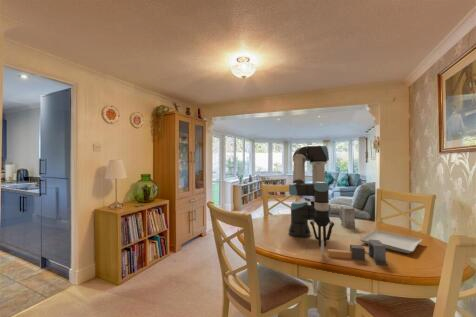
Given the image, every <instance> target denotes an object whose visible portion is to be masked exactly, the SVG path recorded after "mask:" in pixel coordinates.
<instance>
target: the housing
mask: <svg viewBox="0 0 476 317" xmlns="http://www.w3.org/2000/svg"><path fill="white" fill-rule="evenodd" d="M386 250H387V249H386V246H385V245H383V244H382V243H381V242H380V241H379V240H369V244H368V252H367V255H368V256H369V257H373V262H374V263H375V265H380V266H388V265H389V264H388V263H387V260H386V258H387V255H386Z"/></svg>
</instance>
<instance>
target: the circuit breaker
mask: <svg viewBox="0 0 476 317" xmlns="http://www.w3.org/2000/svg"><path fill="white" fill-rule="evenodd" d="M338 214H339V215H338V217H339V220H340V221H341V226H342V227H344V228H345V229H356V227H355V226H356V221H355V214H356V210H355V208H354V207H353V206H341V207H340V209H339V212H338Z"/></svg>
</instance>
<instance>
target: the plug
mask: <svg viewBox="0 0 476 317" xmlns="http://www.w3.org/2000/svg"><path fill="white" fill-rule="evenodd" d="M366 255H368V252H367V251H366V249H365V247H364V246H363V245H362V244H349V250H345V249H343V250H342V249H331V248H330V249H329V248H327V257H331V258H342V259H352V260H358V261H366Z"/></svg>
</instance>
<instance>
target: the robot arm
mask: <svg viewBox="0 0 476 317" xmlns="http://www.w3.org/2000/svg"><path fill="white" fill-rule="evenodd" d="M329 160H330V158H329V150H328V147H327V145H325V144H312V145H311V144H310V145H306V144H305V145H302V146H300V147H298V148H297V149H296V150H295V151H294V152H293V155H292V162H293V171H292V172H293V173H292V182H290V183H289V185H288V193H289V195H290V196H293V197H294V196H297V197H312V199H311V200H310V203H308V202H309V201H307V200H298V201H293V202H291V204H290V225H289V228H288V234H289V235H290V236H292V237H295V238H308V237H310V236H311V230H310V226H309V224H310V225H311V227H312V231H313V235H314V238H315V240H317V241H318V242H317V243H318V246H319V247H320V253H321V254H325V248H326V247H327V241H330V239H331V234H332V232H333V227H334V226H335V223H334V222H333V221H331V219H330V216H331V204H330V202H329V198H330V196H329V189H330V188H329V183H328V182H327V181H326V174H325V171H326V169H325V167H326V165H327V163H328V161H329ZM306 162H309V164H310V165H311V171H312V172H311V174H312V176H311V177H312V178H311V180H312V183H306V179H305V178H306V165H305V163H306ZM315 224H316V225H317V228H318V229H317V231H318V233H317V231H316V226H315ZM328 224H329V226H328ZM327 226H328V230H327ZM322 234H323V235H322ZM322 238H323V239H322Z"/></svg>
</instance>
